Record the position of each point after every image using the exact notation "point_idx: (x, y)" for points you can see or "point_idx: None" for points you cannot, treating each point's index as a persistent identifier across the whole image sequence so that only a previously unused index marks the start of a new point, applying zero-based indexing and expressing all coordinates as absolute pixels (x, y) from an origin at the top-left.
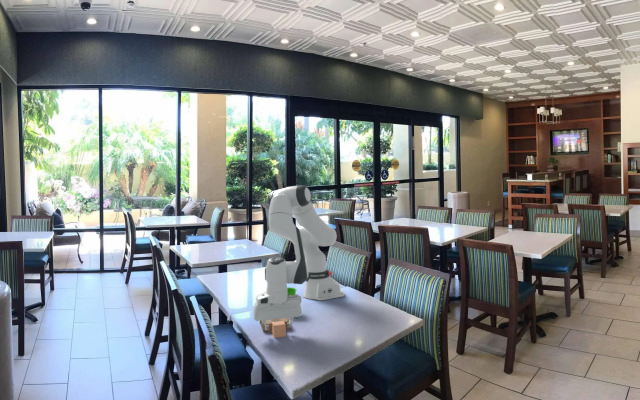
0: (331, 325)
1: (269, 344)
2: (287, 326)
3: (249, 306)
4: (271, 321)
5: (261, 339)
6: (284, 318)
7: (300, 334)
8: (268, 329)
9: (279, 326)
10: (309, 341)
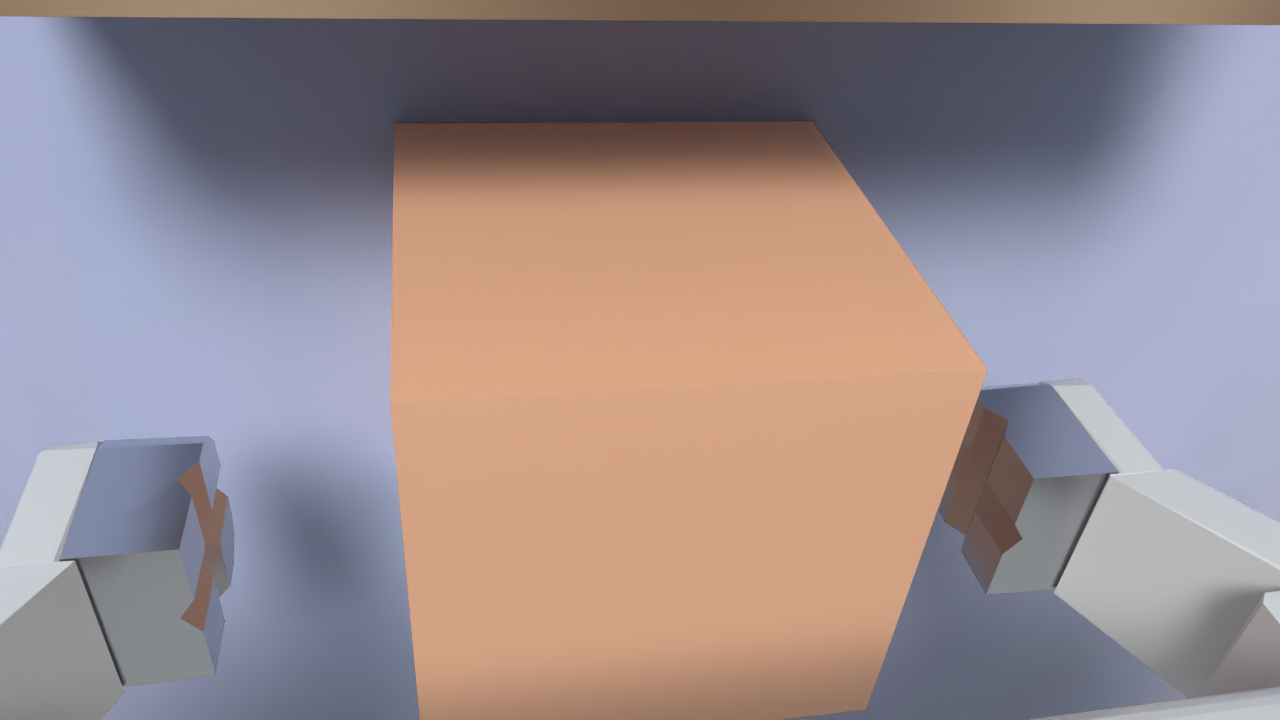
0: None
1: (275, 717)
2: (947, 499)
3: None
4: None
5: (19, 477)
6: None
7: (1129, 397)
8: (220, 558)
9: (641, 709)
10: (1072, 688)
